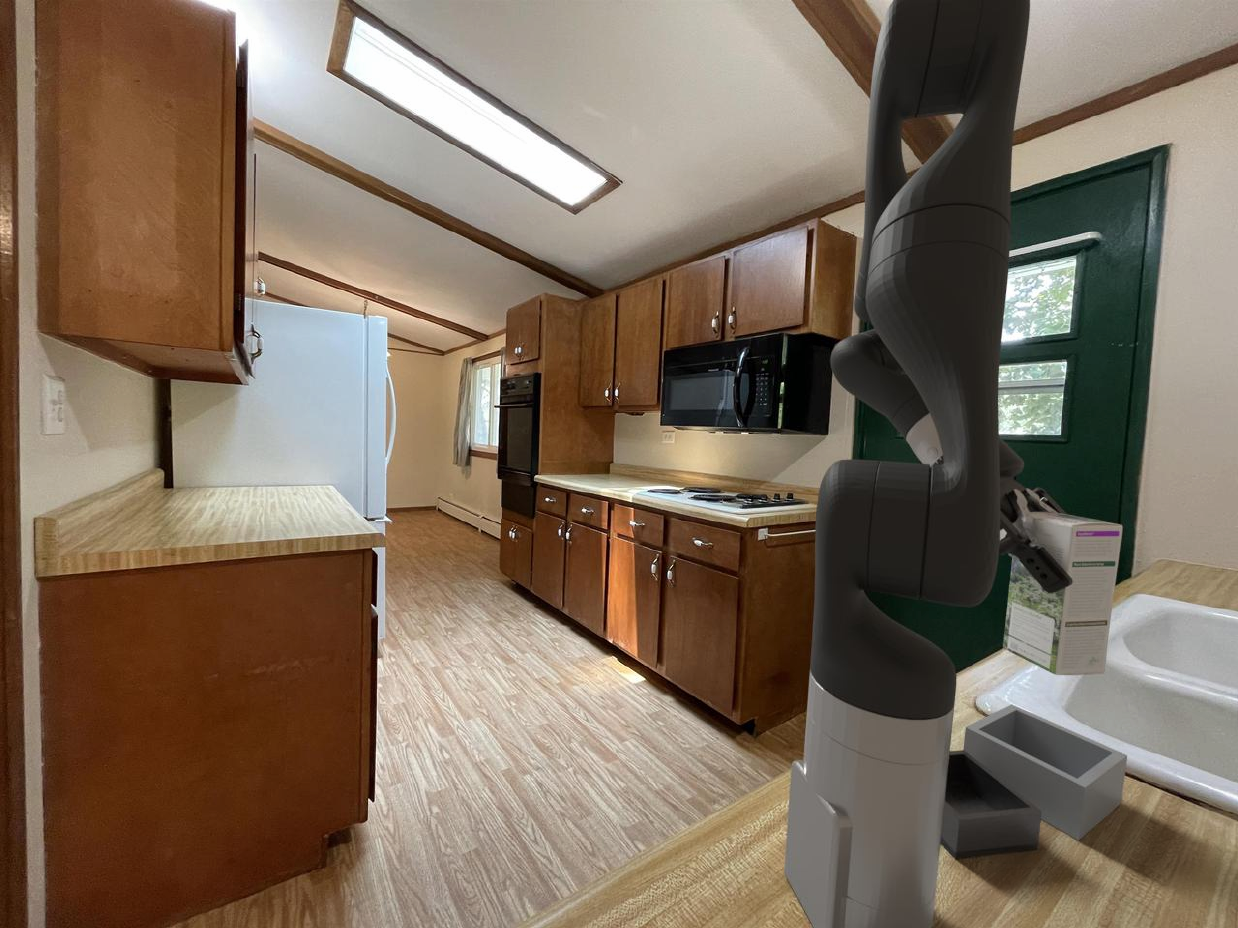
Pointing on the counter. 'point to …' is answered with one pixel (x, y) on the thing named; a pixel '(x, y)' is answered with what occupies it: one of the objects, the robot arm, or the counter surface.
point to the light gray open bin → (1050, 767)
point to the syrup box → (1066, 597)
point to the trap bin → (985, 812)
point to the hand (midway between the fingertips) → (1080, 583)
